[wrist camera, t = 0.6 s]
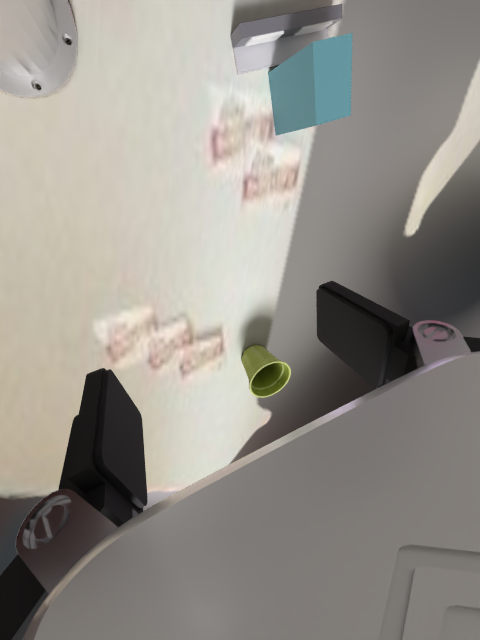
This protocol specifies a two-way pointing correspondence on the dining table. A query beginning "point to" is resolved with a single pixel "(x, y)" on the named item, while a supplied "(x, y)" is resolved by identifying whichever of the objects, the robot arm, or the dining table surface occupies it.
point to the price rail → (280, 37)
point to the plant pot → (264, 371)
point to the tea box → (313, 85)
